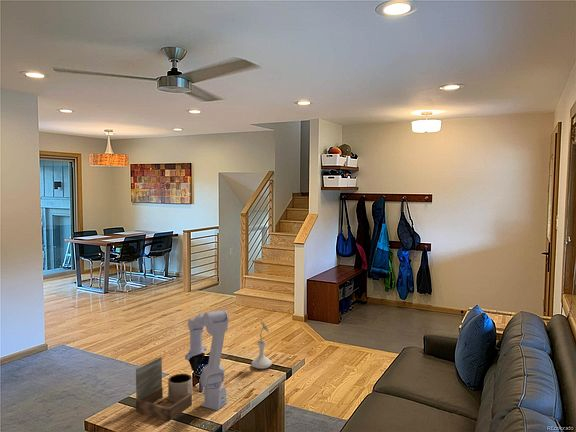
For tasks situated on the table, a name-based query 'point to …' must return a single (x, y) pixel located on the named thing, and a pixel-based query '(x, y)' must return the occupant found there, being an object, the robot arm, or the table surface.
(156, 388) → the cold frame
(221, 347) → the robot arm
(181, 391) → the planter
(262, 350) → the flower in vase
